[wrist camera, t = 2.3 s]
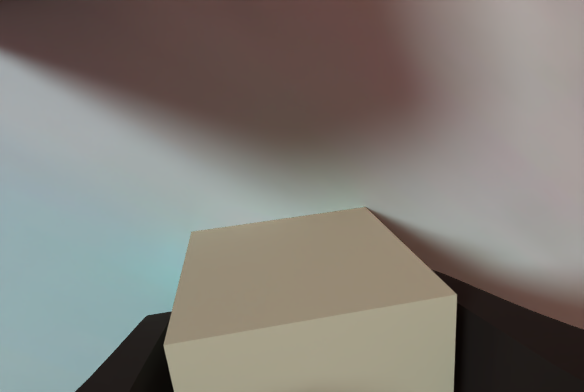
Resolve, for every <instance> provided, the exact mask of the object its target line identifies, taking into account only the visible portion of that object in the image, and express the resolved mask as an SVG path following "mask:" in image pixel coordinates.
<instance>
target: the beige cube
mask: <svg viewBox="0 0 584 392" xmlns="http://www.w3.org/2000/svg"><path fill="white" fill-rule="evenodd" d="M456 309H457V294H456V293H455V292H454V291H453V290H452V289H451V288H450V287H449V286H448V285H447V284H446V283H444V282H443V281H442V280H441V279H440V278H439V277H438V276H437V275H436V274H435V273H434V272H433V271H432V270H431V269H430V268H429V267H428V266H427V265H426V264H425V263H423V262H422V261H421V260H420V259H419V258H418V257H417V256H416V255H415V254H414V253H413V252H412V251H411V250H410V249H409V248H408V247H407V246H406V245H405V244H404V243H403V242H401V241H400V240H399V239H398V238H397V237H396V236H395V235H394V234H393V233H392V232H391V231H390V230H389V229H388V228H387V227H386V226H385V225H384V224H383V223H382V222H381V221H379V220H378V219H377V218H376V217H375V216H374V215H373V214H372V213H371V212H370V211H369V210H368V209H367V208H366V207H362V208H355V209H348V210H341V211H334V212H327V213H320V214H313V215H306V216H299V217H292V218H285V219H278V220H271V221H264V222H257V223H250V224H243V225H236V226H229V227H222V228H215V229H208V230H201V231H194V232H191V236H190V240H189V244H188V248H187V252H186V256H185V260H184V264H183V268H182V272H181V276H180V280H179V284H178V288H177V292H176V296H175V300H174V305H173V309H172V313H171V317H170V321H169V325H168V329H167V333H166V337H165V341H164V345H163V346H164V350H165V354H166V359H167V363H168V367H169V372H170V376H171V381H172V385H173V389H174V392H454V367H455V338H456Z"/></svg>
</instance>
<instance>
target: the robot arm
mask: <svg viewBox="0 0 584 392" xmlns="http://www.w3.org/2000/svg"><path fill="white" fill-rule="evenodd" d="M432 271H433V272H434V273H435V274H436V275H437V276H438V277H439V278H440V279H441V280H442V281H443V282H444V283H446V284H447V285H448V286H449V287H450V288H451V289H452V290H453V291H454V292H455V293H456V294H457V309H456V338H455V367H454V392H584V330H583V329H580V328H577V327H574V326H571V325H568V324H566V323H563V322H560V321H558V320H555V319H552V318H549V317H547V316H544V315H541V314H539V313H536V312H533V311H531V310H528V309H526V308H523V307H521V306H518V305H516V304H514V303H511V302H509V301H506V300H504V299H501V298H499V297H497V296H494V295H492V294H490V293H487V292H485V291H483V290H480V289H478V288H476V287H473V286H471V285H469V284H466V283H464V282H462V281H459V280H457V279H455V278H452V277H450V276H447V275H445V274H442V273H440V272H437V271H434V270H432ZM171 313H172V312H166V313H160V314H154V315H148V316H146V317H145V318H144V319H143V320H142V321H141V322H140V323H139V324H138V325H137V327H136V328H135V329H134V330H133V331H132V332H131V333H130V334H129V335H128V337H127V338H126V339H125V340H124V341H123V342H122V343H121V344H120V345H119V347H118V348H117V349H116V350H115V351H114V352H113V353H112V354H111V355H110V356H109V357H108V358H107V359H106V361H105V362H104V363H103V364H102V365H101V366H100V367H99V368H98V369H97V370H96V371H95V372H94V373H93V375H92V376H91V377H90V378H89V379H88V380H87V381H86V382H85V383H84V384H83V385H82V386H81V387H80V388H78V389H77V390H76V391H75V392H174V389H173V385H172V381H171V376H170V372H169V367H168V363H167V359H166V354H165V350H164V346H163V345H164V341H165V337H166V333H167V329H168V325H169V321H170V317H171Z"/></svg>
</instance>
